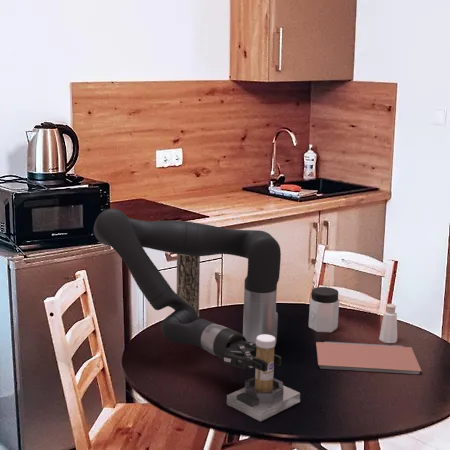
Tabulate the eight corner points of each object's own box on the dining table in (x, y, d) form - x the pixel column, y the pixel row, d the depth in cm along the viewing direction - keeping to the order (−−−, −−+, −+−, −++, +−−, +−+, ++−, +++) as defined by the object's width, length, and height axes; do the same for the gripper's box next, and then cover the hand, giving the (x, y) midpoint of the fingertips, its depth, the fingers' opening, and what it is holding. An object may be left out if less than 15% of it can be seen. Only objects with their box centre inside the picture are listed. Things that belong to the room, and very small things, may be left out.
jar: (303, 324, 220) (305, 288, 217) (325, 320, 224) (327, 285, 221) (320, 334, 212) (322, 297, 209) (342, 330, 216) (344, 293, 213)
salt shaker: (399, 343, 207) (402, 308, 204) (380, 343, 207) (383, 307, 204) (395, 336, 212) (398, 302, 210) (377, 336, 212) (380, 301, 210)
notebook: (410, 351, 203) (410, 344, 203) (421, 376, 187) (421, 369, 186) (315, 346, 205) (316, 339, 205) (318, 370, 189) (318, 363, 188)
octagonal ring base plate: (266, 386, 178) (266, 369, 177) (299, 402, 170) (300, 383, 169) (226, 404, 168) (227, 385, 167) (260, 421, 161) (261, 402, 159)
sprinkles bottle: (267, 395, 165) (270, 342, 162) (250, 390, 168) (252, 338, 164) (276, 388, 169) (278, 336, 166) (259, 383, 171) (261, 332, 168)
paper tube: (200, 326, 216) (201, 248, 211) (197, 335, 210) (198, 254, 204) (178, 325, 217) (178, 247, 211) (174, 333, 210) (175, 253, 205)
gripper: (202, 335, 171) (253, 358, 159) (243, 321, 180) (294, 341, 169) (201, 363, 173) (252, 388, 161) (242, 348, 182) (292, 370, 170)
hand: (273, 364), depth 165 cm, fingers closed on sprinkles bottle, 4 cm apart
